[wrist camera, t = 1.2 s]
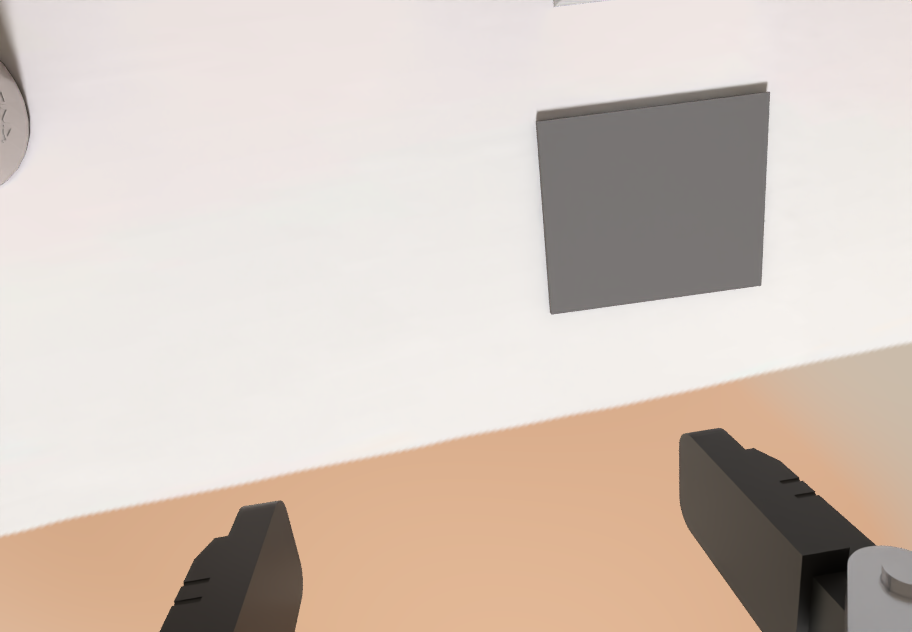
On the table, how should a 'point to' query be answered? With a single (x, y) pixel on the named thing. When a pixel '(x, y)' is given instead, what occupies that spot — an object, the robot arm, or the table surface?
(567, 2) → the stand
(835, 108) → the table surface
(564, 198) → the mat
